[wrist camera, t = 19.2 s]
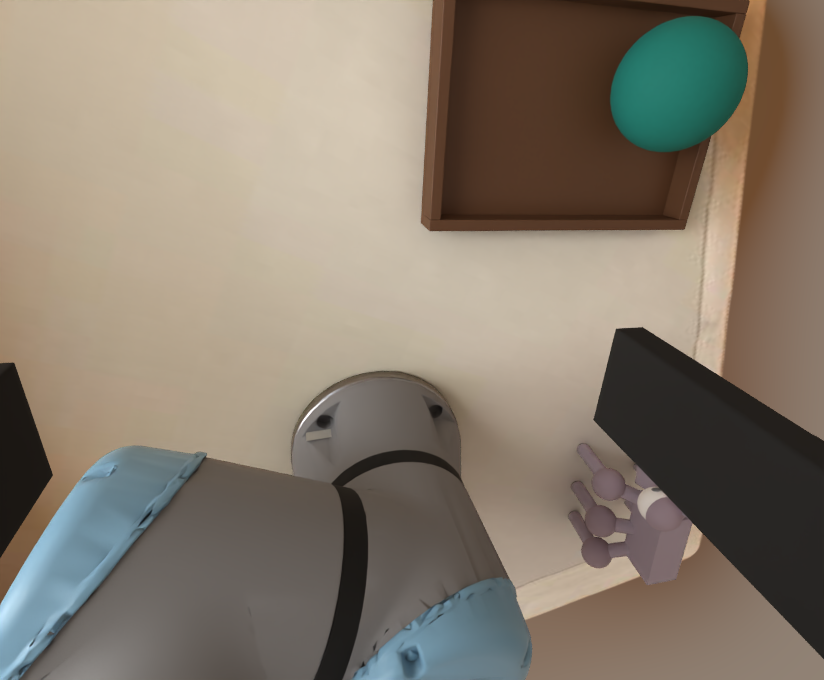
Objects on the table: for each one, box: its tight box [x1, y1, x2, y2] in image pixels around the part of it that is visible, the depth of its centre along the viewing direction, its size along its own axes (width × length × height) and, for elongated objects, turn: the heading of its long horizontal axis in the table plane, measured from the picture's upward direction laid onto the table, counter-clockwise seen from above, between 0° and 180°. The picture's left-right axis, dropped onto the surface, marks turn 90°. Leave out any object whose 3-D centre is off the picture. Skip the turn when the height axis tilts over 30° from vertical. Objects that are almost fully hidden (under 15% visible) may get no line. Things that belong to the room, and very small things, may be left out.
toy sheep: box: [569, 444, 692, 585], centre depth 46 cm, size 20×11×14 cm, turn 3°
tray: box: [421, 0, 749, 231], centre depth 35 cm, size 16×22×3 cm
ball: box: [610, 16, 748, 152], centre depth 32 cm, size 8×8×8 cm
